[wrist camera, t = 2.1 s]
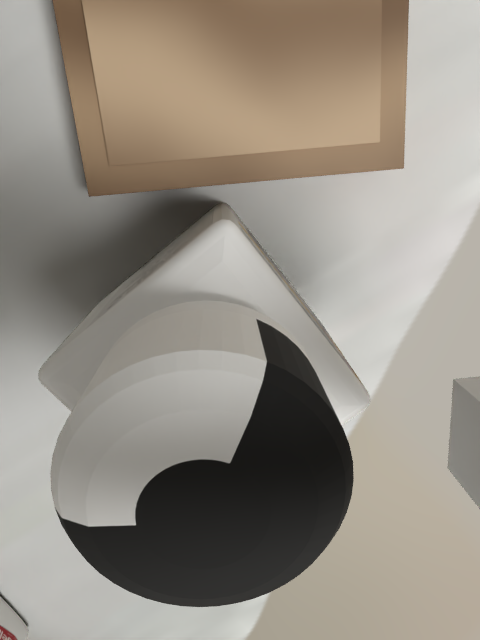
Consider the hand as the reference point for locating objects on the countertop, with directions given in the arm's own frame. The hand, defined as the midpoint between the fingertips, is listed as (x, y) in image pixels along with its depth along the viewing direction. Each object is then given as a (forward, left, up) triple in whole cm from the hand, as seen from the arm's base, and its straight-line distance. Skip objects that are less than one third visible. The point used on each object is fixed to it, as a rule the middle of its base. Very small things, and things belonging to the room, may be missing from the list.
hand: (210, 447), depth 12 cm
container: (0, 0, -10) cm, 10 cm away
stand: (-12, +2, -10) cm, 16 cm away
